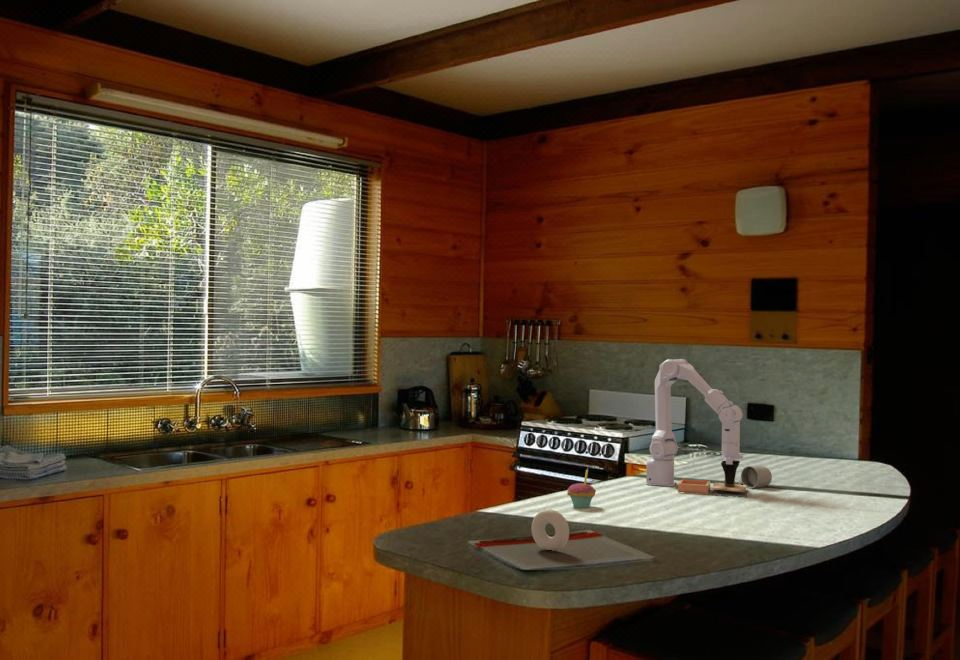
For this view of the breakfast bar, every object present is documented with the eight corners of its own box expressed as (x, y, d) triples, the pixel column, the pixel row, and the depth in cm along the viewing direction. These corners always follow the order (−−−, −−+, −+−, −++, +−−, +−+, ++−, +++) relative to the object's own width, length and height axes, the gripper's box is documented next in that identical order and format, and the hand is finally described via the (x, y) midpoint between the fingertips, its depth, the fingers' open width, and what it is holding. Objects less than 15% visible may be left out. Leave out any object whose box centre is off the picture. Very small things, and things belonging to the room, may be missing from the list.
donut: (528, 549, 213) (528, 508, 213) (535, 546, 215) (536, 505, 215) (564, 555, 207) (565, 513, 207) (571, 552, 210) (572, 510, 210)
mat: (711, 495, 287) (711, 494, 287) (714, 488, 299) (714, 487, 299) (746, 497, 283) (746, 496, 283) (748, 491, 295) (748, 489, 295)
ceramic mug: (773, 487, 302) (773, 465, 302) (758, 490, 298) (758, 467, 298) (748, 483, 311) (748, 462, 311) (733, 485, 306) (733, 463, 306)
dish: (677, 492, 291) (678, 483, 291) (681, 488, 300) (681, 479, 300) (707, 494, 288) (707, 485, 288) (710, 489, 297) (710, 481, 297)
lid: (712, 489, 288) (712, 474, 288) (714, 484, 298) (714, 469, 298) (745, 492, 284) (745, 476, 284) (746, 486, 294) (746, 471, 294)
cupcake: (598, 505, 268) (599, 466, 268) (590, 510, 260) (590, 470, 260) (572, 503, 271) (572, 464, 271) (562, 508, 264) (563, 467, 264)
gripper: (742, 445, 283) (741, 487, 283) (744, 440, 296) (743, 480, 296) (719, 444, 285) (719, 486, 285) (722, 439, 299) (722, 479, 299)
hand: (730, 483), depth 291 cm, fingers closed on lid, 3 cm apart
